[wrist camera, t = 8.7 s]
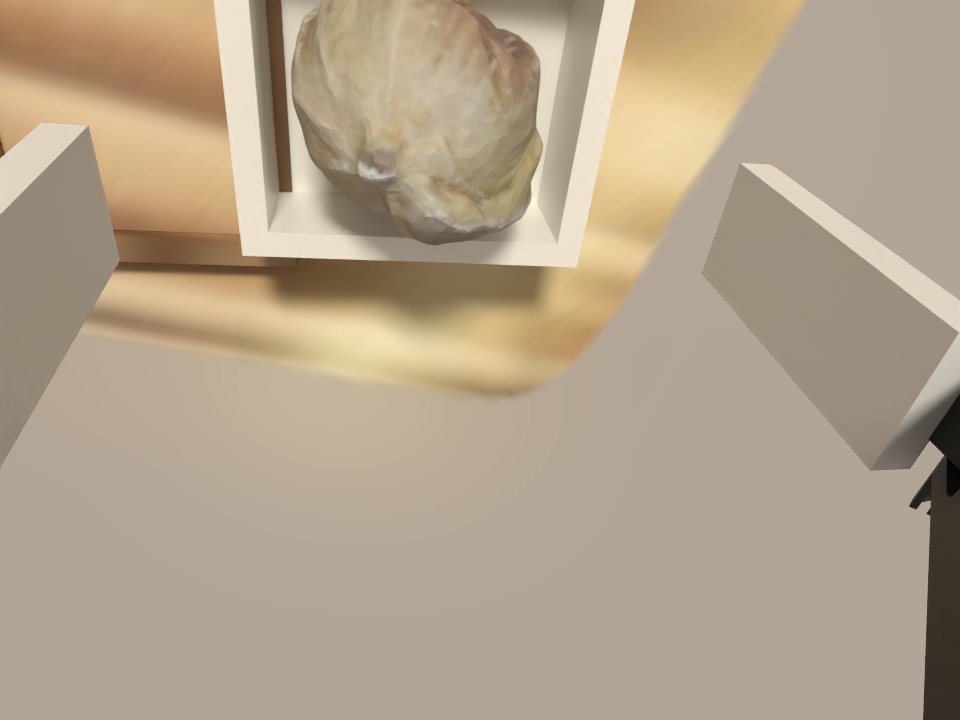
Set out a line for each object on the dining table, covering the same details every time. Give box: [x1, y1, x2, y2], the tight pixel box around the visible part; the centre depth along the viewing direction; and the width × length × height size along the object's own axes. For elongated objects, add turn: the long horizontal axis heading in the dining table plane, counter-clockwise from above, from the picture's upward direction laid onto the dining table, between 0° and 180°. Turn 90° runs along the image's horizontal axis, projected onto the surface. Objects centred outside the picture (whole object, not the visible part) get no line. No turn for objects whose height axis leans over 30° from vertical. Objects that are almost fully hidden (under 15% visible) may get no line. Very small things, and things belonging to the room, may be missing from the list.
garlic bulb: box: [291, 0, 543, 246], centre depth 22 cm, size 9×8×10 cm
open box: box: [214, 0, 635, 267], centre depth 24 cm, size 13×13×5 cm
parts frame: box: [0, 0, 298, 267], centre depth 25 cm, size 12×13×1 cm
